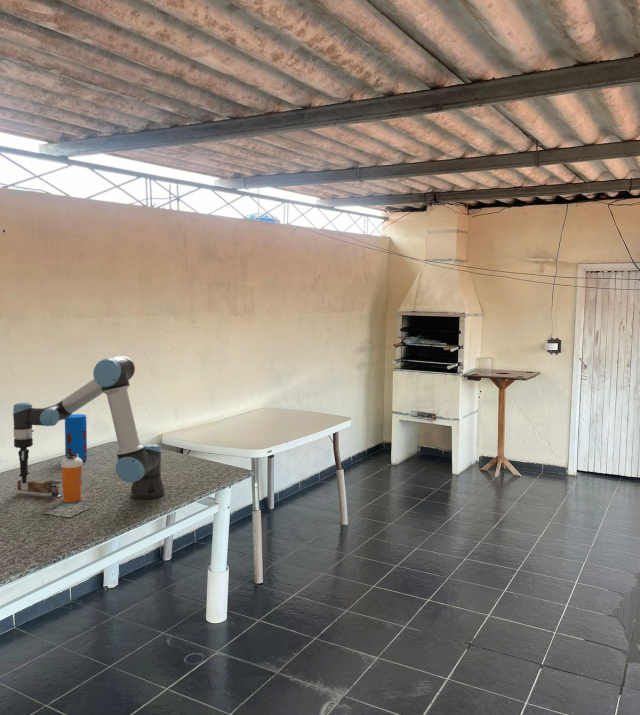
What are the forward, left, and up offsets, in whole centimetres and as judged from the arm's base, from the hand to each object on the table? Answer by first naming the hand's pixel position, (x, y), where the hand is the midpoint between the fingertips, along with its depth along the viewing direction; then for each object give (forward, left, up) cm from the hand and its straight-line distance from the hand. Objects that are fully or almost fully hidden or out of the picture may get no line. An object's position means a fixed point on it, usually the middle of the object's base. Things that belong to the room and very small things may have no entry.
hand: (24, 489), depth 285 cm
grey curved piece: (-13, -4, -3) cm, 14 cm away
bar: (-5, -3, -1) cm, 6 cm away
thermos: (+18, -57, -3) cm, 59 cm away
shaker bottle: (-23, -3, -3) cm, 24 cm away
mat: (-31, +10, -3) cm, 33 cm away
